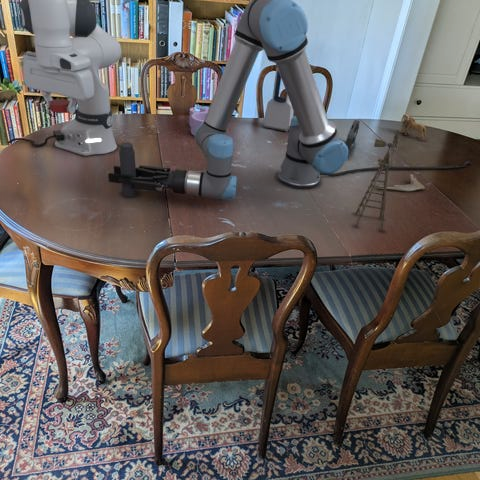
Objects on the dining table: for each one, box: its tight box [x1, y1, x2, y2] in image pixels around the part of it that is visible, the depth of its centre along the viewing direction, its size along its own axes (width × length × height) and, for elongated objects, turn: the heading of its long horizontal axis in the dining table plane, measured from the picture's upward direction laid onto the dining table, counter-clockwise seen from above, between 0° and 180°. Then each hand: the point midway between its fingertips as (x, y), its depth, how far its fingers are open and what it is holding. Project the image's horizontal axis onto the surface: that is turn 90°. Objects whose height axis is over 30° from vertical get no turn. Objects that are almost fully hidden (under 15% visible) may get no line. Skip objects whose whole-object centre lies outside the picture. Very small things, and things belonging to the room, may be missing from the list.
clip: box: [188, 106, 209, 137], centre depth 199 cm, size 20×12×7 cm, turn 23°
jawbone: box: [377, 173, 426, 193], centre depth 169 cm, size 9×20×2 cm, turn 126°
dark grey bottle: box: [118, 142, 138, 198], centre depth 143 cm, size 4×4×16 cm
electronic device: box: [262, 66, 294, 132], centre depth 204 cm, size 12×8×30 cm, turn 71°
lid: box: [49, 98, 70, 114], centre depth 125 cm, size 5×5×2 cm
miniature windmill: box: [354, 129, 400, 232], centre depth 137 cm, size 9×8×30 cm
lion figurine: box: [400, 113, 429, 141], centre depth 217 cm, size 15×5×9 cm, turn 50°
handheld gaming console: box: [345, 119, 361, 160], centre depth 194 cm, size 23×3×10 cm, turn 161°
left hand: (61, 110), depth 126 cm, fingers closed on lid, 5 cm apart
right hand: (111, 173), depth 144 cm, fingers closed on dark grey bottle, 5 cm apart
